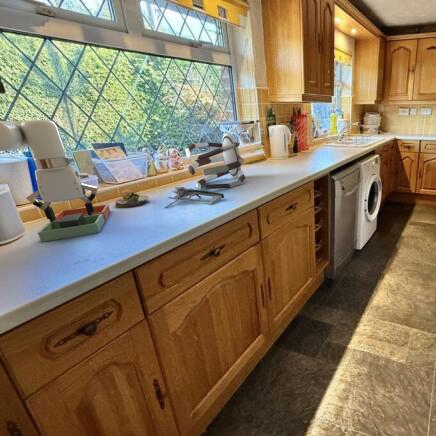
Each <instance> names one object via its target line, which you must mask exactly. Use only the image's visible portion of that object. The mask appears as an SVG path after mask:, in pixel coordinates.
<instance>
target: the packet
mask: <svg viewBox="0 0 436 436" xmlns="http://www.w3.org/2000/svg"><path fill="white" fill-rule="evenodd" d="M58 223H59V226H60V228H61V229H62V228H68V227H74V226H81V225H86V222H85V219H84V216H83V213H79V214H72V215H65V216H64V217H63V218H62V219H61V220H60V221H59V222H58Z"/></svg>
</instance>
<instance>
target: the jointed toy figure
mask: <svg viewBox="0 0 436 436" xmlns="http://www.w3.org/2000/svg"><path fill="white" fill-rule="evenodd" d="M240 144H241V143H240V142H238V141H236V139H235V137H234V136H233V134H231V133H229V132H226V133H224V134H223V136H222V139H221V143H220V142H209V141H205V142H195V143H191V144H189V145H188V146H187V147H186V148H185V149H184V150H185V151H184V152H185V154H186V159H187V160H188V161H189V162H191V161H192V160H193V157H192V153H191V151H192V150H193V149H196V148H204V147H209V148H215V149H213V150H210V151H207V152H205V153H202V154H199V155H198V156H197V159H196V160H195V161H194V162H192V163H191V164H189V166H188V168H187V169H188V172H189V173H190V175H192V176H195V174H196V171H195V170H196V169H197V168H199V167H203V166H206V165H210V164H215V163H220V162H223V163H224V164H222V165H217V166H212V167H207V168H204V169H202V171H201V173H202V174H203V175H204V176H205V177H203V178H201V179H199V180H197V182H196V183H195V187H196V188H197V189H198V190H201V188H202V186H203V187H204V189H205V190H218V189H219V190H220V189H229V188H232V187H233V188H234V187H237V186H240V185H242V184H243V183H244V181H245V180H246V178H247V177H246V175H245V174H244V172H243V170H242V165H243V164H244V163H245V159H244V158H243V157H242V156H241V152H240V149H239V146H240ZM220 154H222V155H220ZM229 174H230V176H231V177H233V178H234V179H235V178H238V179H237V180H235V181H232V182H226V183H209V182H212V181H214V180H216V179H218V178H221V177H223V176H226V175H229ZM207 183H208V184H207Z"/></svg>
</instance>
